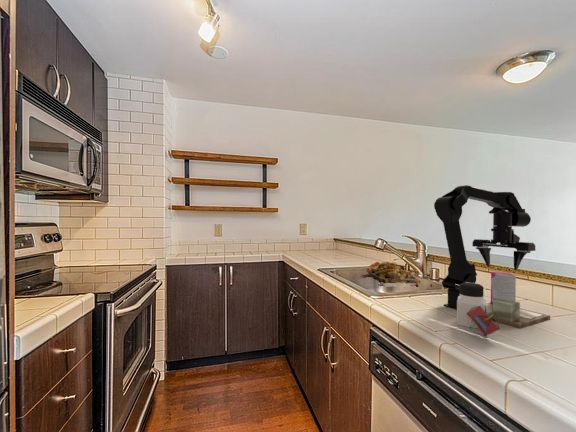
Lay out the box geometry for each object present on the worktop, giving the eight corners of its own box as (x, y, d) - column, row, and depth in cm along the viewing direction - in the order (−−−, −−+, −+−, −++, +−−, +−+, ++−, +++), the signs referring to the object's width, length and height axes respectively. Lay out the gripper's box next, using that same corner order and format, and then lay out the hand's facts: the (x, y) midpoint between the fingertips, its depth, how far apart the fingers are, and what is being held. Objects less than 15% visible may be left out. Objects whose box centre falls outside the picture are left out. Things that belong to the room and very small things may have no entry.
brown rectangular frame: (519, 328, 85) (519, 307, 85) (483, 317, 94) (483, 298, 94) (550, 318, 93) (550, 299, 93) (514, 309, 102) (513, 292, 102)
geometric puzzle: (504, 334, 79) (498, 303, 80) (498, 341, 74) (492, 308, 75) (473, 331, 84) (468, 302, 85) (466, 338, 79) (461, 307, 80)
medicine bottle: (486, 330, 84) (486, 287, 84) (456, 325, 87) (456, 284, 87) (485, 322, 90) (485, 282, 90) (458, 318, 93) (458, 280, 94)
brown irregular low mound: (357, 274, 170) (357, 255, 170) (401, 274, 171) (401, 255, 171) (379, 289, 135) (379, 265, 135) (434, 288, 136) (434, 265, 137)
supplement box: (516, 307, 105) (516, 275, 105) (497, 306, 106) (497, 274, 106) (507, 303, 110) (507, 272, 110) (489, 302, 112) (489, 271, 112)
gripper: (543, 227, 107) (542, 270, 107) (487, 225, 123) (486, 263, 123) (528, 226, 102) (527, 272, 101) (471, 225, 118) (471, 264, 118)
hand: (501, 268), depth 111 cm, fingers open, 9 cm apart
